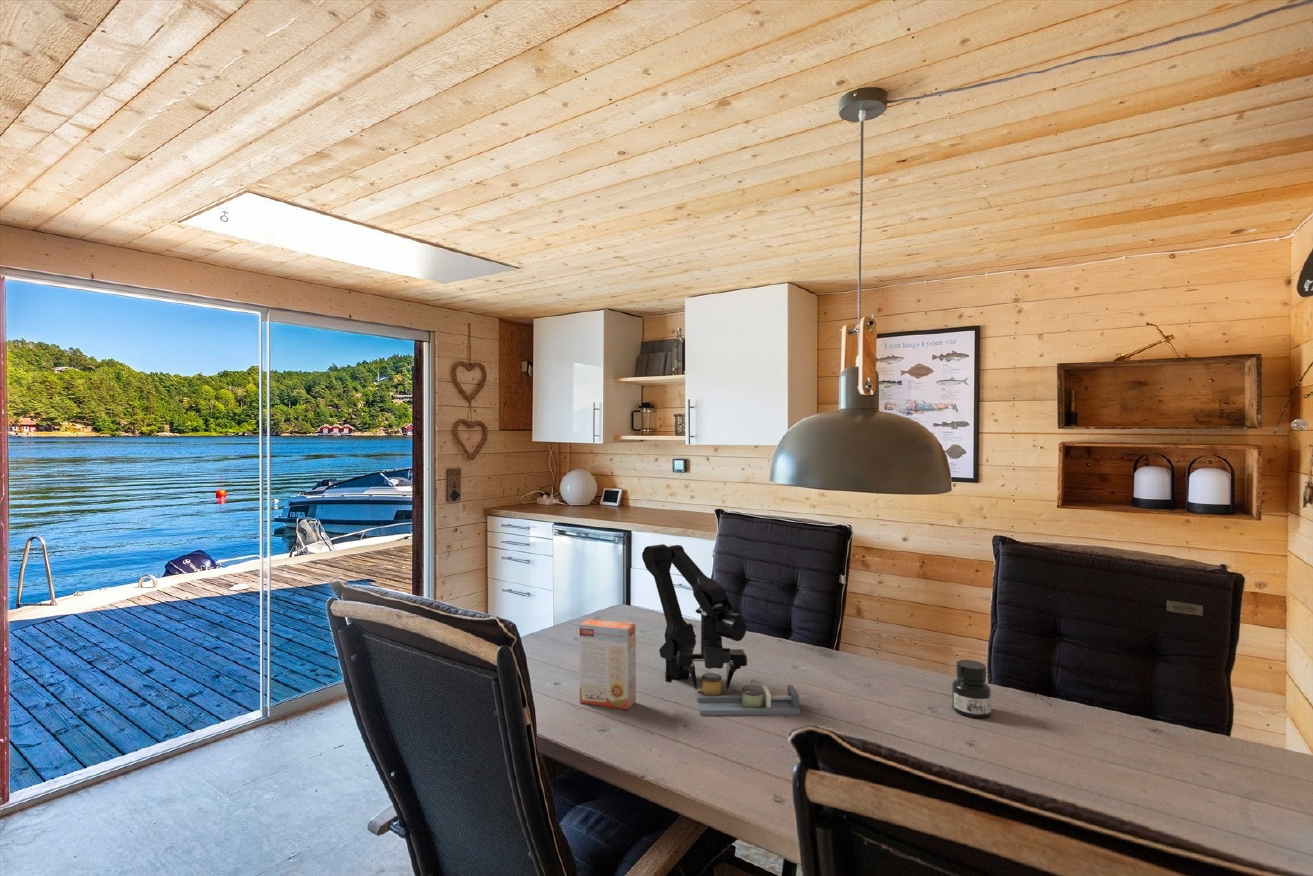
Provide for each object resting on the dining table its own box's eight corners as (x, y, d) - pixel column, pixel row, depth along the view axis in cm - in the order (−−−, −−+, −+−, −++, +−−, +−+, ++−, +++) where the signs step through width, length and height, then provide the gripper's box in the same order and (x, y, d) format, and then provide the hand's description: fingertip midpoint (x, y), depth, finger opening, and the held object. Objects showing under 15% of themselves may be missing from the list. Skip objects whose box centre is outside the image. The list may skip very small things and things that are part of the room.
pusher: (766, 710, 156) (766, 695, 156) (762, 701, 162) (762, 685, 162) (814, 710, 156) (814, 694, 156) (808, 700, 162) (808, 685, 162)
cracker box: (636, 702, 163) (636, 622, 163) (627, 711, 158) (627, 629, 158) (589, 694, 168) (589, 617, 168) (578, 703, 163) (578, 623, 163)
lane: (700, 717, 154) (700, 697, 154) (697, 702, 163) (697, 683, 163) (799, 716, 154) (799, 696, 154) (791, 702, 163) (791, 683, 163)
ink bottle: (952, 715, 155) (952, 667, 155) (948, 702, 163) (948, 656, 164) (995, 721, 152) (995, 672, 152) (990, 707, 160) (989, 661, 160)
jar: (702, 697, 166) (702, 680, 166) (700, 689, 172) (700, 673, 172) (722, 697, 166) (722, 680, 166) (720, 689, 172) (720, 672, 172)
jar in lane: (743, 712, 156) (743, 693, 156) (740, 702, 161) (740, 685, 161) (765, 711, 156) (765, 693, 156) (761, 702, 161) (761, 685, 161)
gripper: (679, 641, 161) (678, 701, 161) (750, 641, 161) (750, 701, 161) (676, 628, 172) (676, 685, 172) (743, 628, 172) (743, 684, 172)
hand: (711, 689), depth 169 cm, fingers open, 8 cm apart
